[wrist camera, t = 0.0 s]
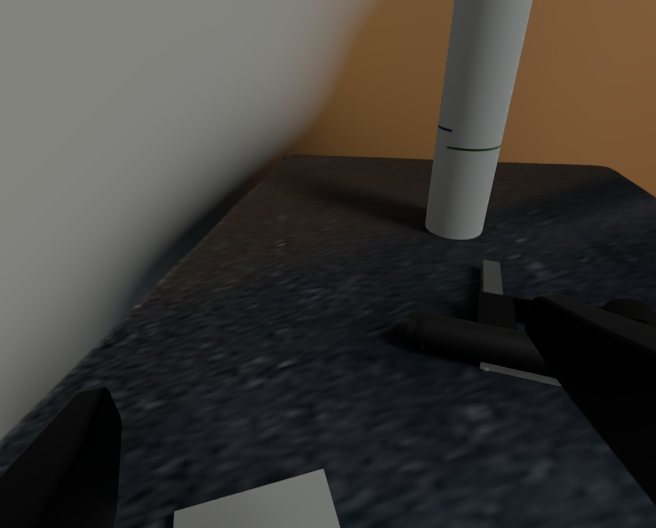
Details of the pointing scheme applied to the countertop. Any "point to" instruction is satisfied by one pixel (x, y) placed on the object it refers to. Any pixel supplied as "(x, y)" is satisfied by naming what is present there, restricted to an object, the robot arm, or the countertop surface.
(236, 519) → the grey flat plate
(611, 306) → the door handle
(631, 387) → the robot arm
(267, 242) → the countertop surface
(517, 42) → the cylindrical container
